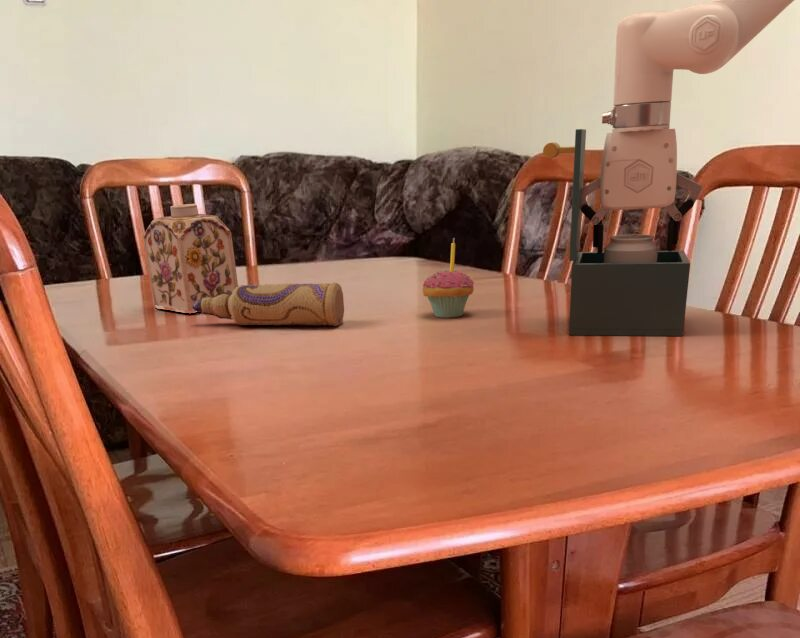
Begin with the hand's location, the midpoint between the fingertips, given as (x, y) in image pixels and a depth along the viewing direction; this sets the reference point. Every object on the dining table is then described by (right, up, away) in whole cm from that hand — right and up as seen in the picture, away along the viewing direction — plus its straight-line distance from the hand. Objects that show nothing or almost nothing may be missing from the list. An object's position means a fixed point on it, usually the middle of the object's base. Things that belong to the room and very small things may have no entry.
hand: (634, 251), depth 119 cm
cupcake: (-26, -5, +18) cm, 32 cm away
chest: (0, -10, +5) cm, 11 cm away
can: (0, -9, +4) cm, 10 cm away
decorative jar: (-72, +1, +35) cm, 80 cm away
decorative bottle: (-55, -6, +18) cm, 58 cm away
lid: (-8, +8, -1) cm, 11 cm away
